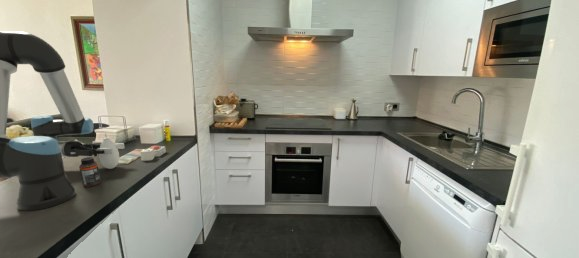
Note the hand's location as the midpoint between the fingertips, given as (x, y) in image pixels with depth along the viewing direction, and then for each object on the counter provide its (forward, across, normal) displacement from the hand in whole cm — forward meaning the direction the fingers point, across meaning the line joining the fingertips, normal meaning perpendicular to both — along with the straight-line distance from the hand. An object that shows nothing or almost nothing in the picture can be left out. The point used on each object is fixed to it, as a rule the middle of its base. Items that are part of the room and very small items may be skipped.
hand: (118, 148), depth 117 cm
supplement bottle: (-1, +18, -10) cm, 21 cm away
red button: (+6, -21, -9) cm, 24 cm away
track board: (-5, -17, -10) cm, 20 cm away
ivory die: (+6, -13, -10) cm, 18 cm away
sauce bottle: (-5, 0, -10) cm, 11 cm away
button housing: (+6, -21, -10) cm, 24 cm away
